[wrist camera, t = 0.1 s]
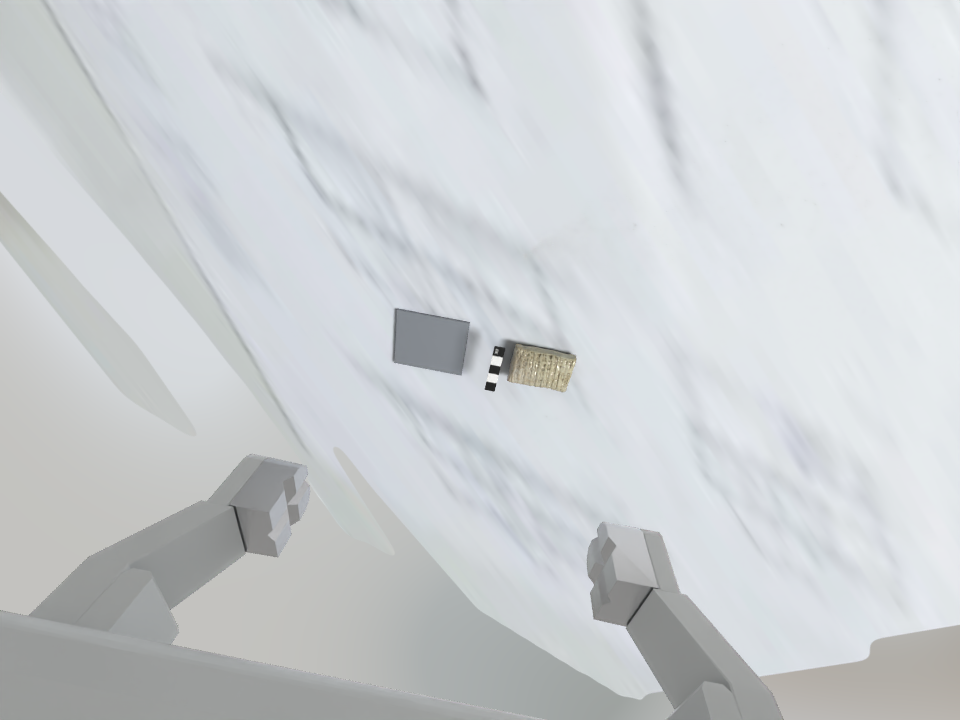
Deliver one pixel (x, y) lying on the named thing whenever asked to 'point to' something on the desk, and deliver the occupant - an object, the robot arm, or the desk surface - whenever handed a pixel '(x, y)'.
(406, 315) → the felt pad
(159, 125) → the desk surface
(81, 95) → the desk surface
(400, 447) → the desk surface
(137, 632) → the robot arm
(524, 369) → the cuneiform tablet
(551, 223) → the desk surface
